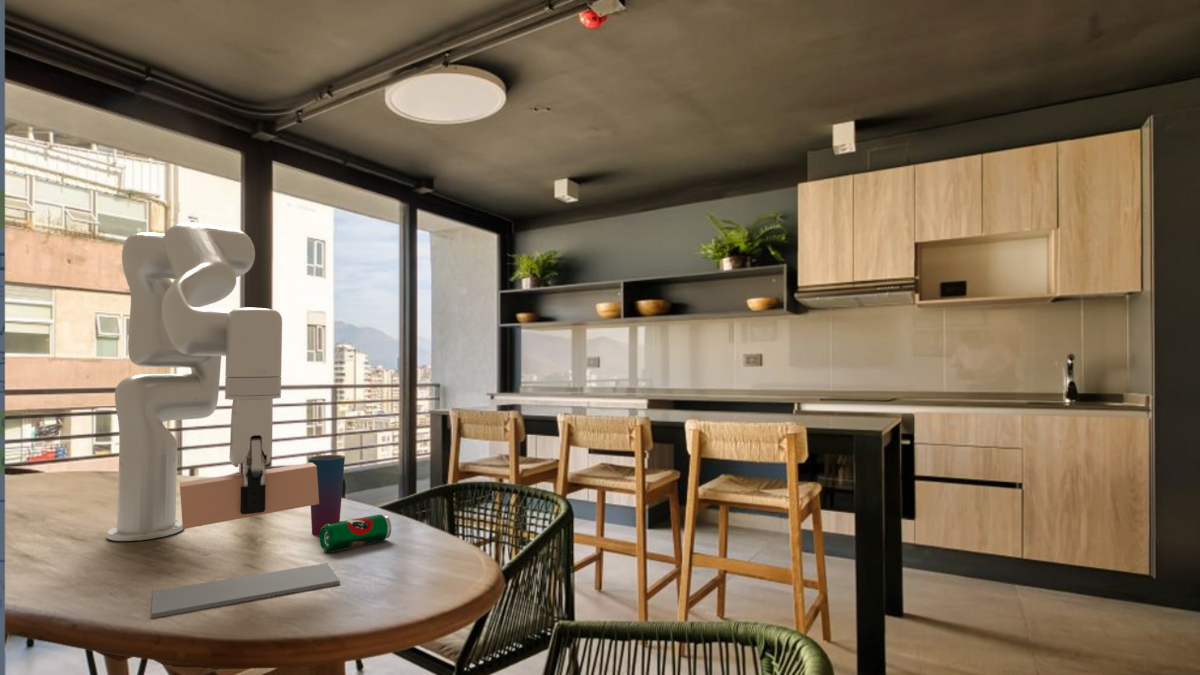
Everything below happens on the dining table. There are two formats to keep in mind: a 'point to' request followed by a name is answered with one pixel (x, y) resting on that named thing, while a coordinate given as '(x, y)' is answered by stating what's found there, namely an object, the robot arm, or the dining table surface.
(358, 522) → the soda can
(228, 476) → the peach wooden plank
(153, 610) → the mat
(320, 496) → the cup
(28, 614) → the dining table surface
